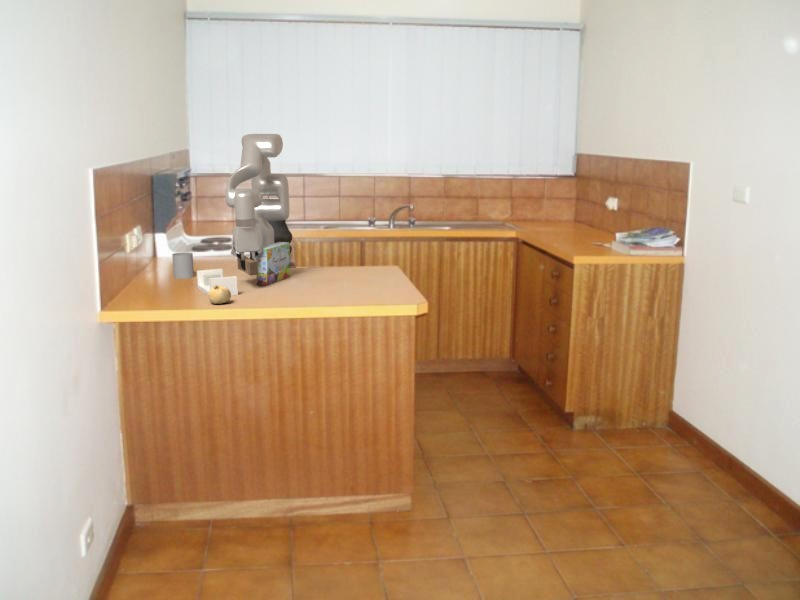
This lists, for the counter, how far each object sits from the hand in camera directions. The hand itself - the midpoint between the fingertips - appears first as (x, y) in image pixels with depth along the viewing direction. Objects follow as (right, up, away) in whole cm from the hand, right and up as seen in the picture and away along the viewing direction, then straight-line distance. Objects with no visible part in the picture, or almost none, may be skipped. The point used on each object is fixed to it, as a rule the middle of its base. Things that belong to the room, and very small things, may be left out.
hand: (247, 268), depth 309 cm
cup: (-32, -3, +24) cm, 40 cm away
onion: (-4, -14, -28) cm, 32 cm away
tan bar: (0, -1, 0) cm, 1 cm away
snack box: (+8, -5, +15) cm, 18 cm away
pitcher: (-3, +10, +83) cm, 84 cm away
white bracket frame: (-10, -9, -7) cm, 16 cm away
